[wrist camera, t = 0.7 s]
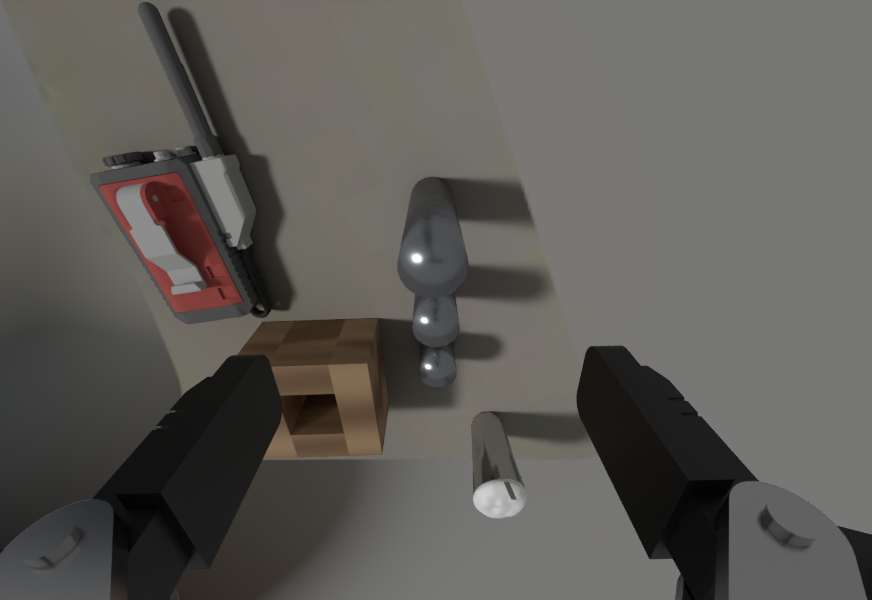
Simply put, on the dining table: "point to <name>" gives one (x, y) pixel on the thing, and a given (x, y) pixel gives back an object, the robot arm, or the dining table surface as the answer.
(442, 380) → the pin short
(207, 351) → the dining table surface
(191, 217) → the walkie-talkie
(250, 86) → the dining table surface
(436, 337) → the pin medium
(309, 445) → the hole block
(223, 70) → the dining table surface
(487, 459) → the milkshake
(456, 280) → the pin long
